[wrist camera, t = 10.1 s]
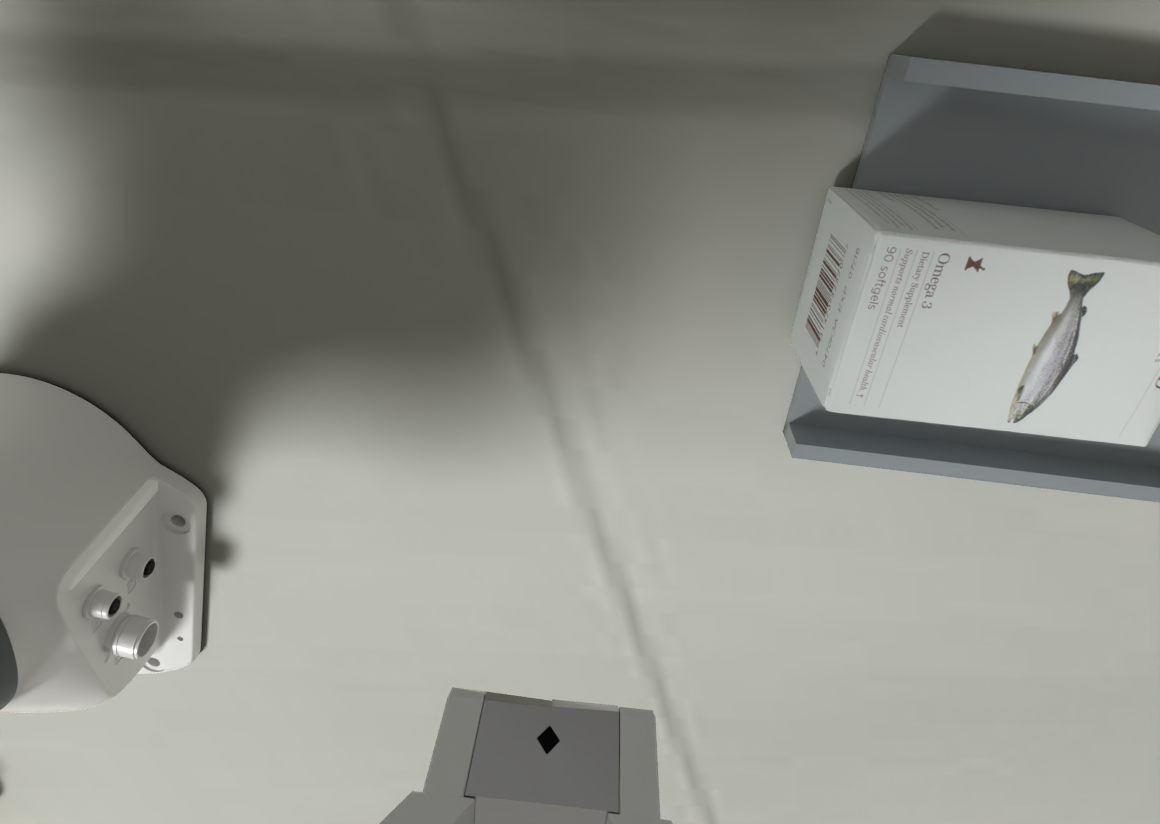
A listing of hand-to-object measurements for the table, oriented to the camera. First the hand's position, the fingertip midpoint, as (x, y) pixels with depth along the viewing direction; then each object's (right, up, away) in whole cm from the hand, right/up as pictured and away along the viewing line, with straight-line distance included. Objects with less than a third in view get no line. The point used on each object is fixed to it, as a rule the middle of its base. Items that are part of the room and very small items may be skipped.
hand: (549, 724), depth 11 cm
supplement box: (+10, +9, +18) cm, 23 cm away
